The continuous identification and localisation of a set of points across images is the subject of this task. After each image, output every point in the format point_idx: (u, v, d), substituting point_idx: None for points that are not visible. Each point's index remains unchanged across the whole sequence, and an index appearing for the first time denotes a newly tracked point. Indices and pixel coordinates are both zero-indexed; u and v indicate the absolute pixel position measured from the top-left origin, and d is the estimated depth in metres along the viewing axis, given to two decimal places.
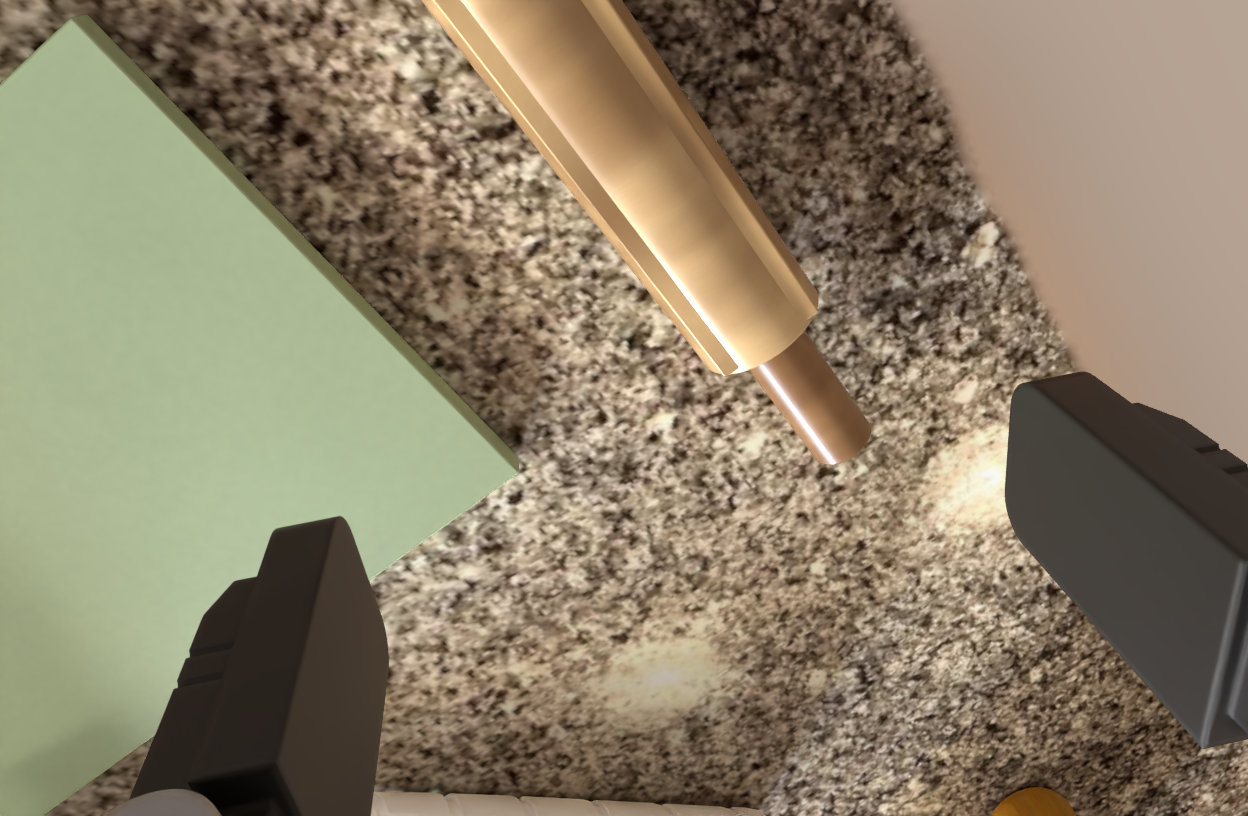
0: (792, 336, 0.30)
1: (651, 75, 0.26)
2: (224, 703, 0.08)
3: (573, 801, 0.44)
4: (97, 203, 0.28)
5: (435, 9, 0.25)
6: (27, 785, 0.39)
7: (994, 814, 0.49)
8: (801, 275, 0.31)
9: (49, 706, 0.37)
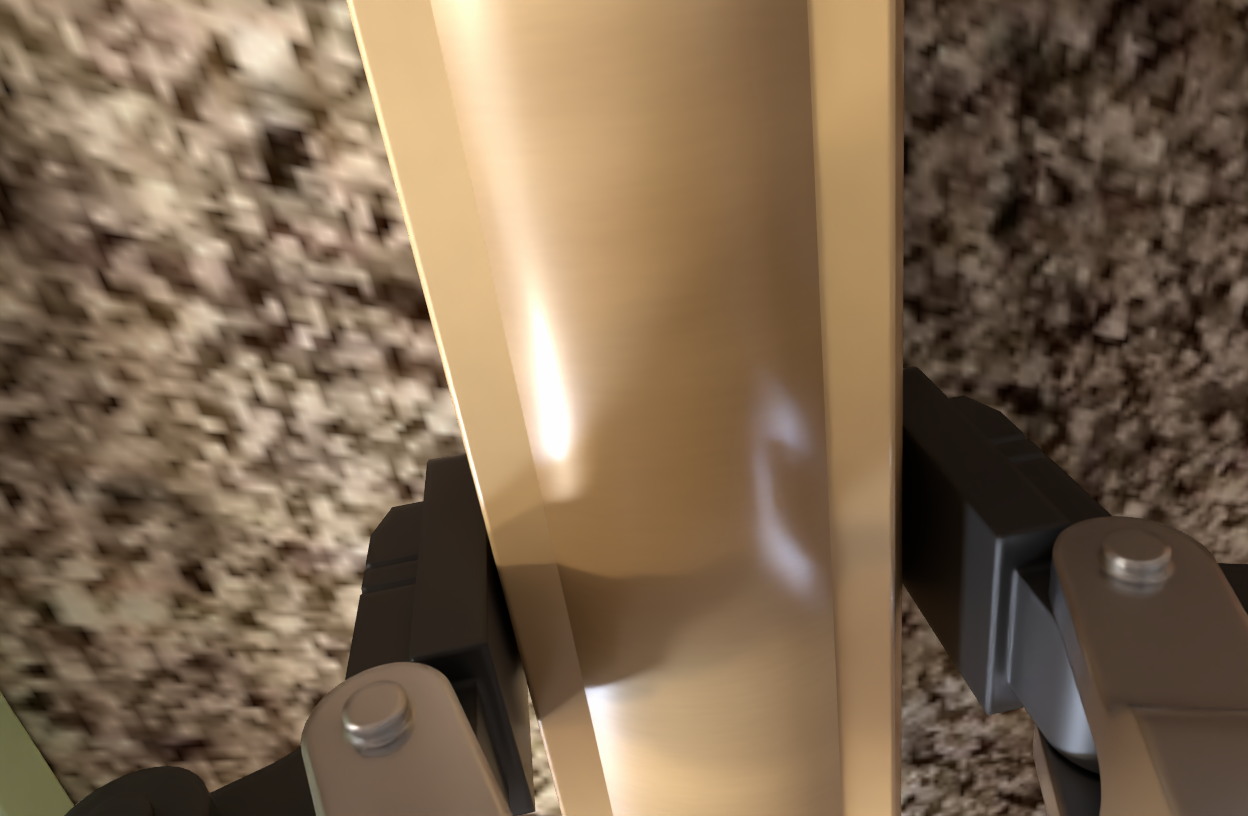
0: None
1: (876, 482, 0.08)
2: (424, 598, 0.09)
3: None
4: None
5: None
6: None
7: None
8: None
9: None
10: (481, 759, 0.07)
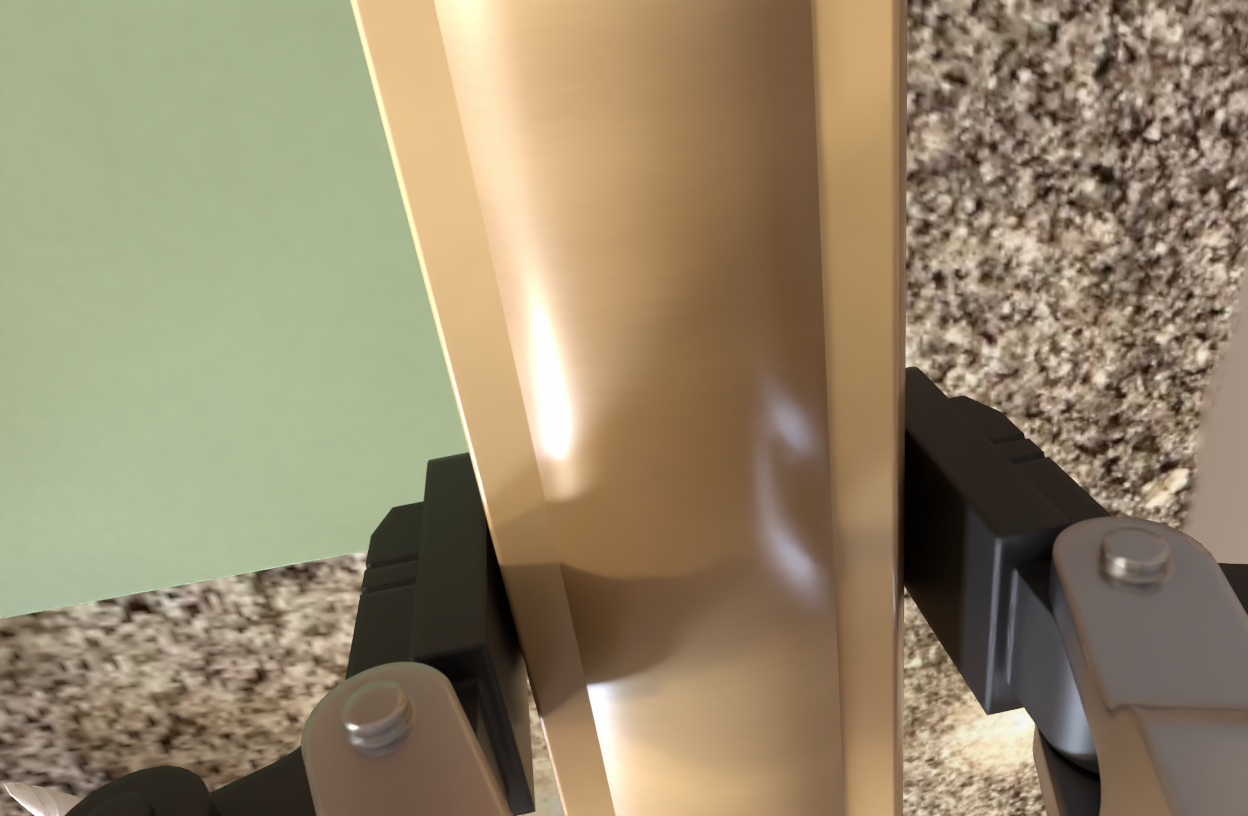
0: None
1: (878, 482, 0.08)
2: (425, 598, 0.09)
3: None
4: None
5: None
6: None
7: None
8: None
9: None
10: (482, 759, 0.07)
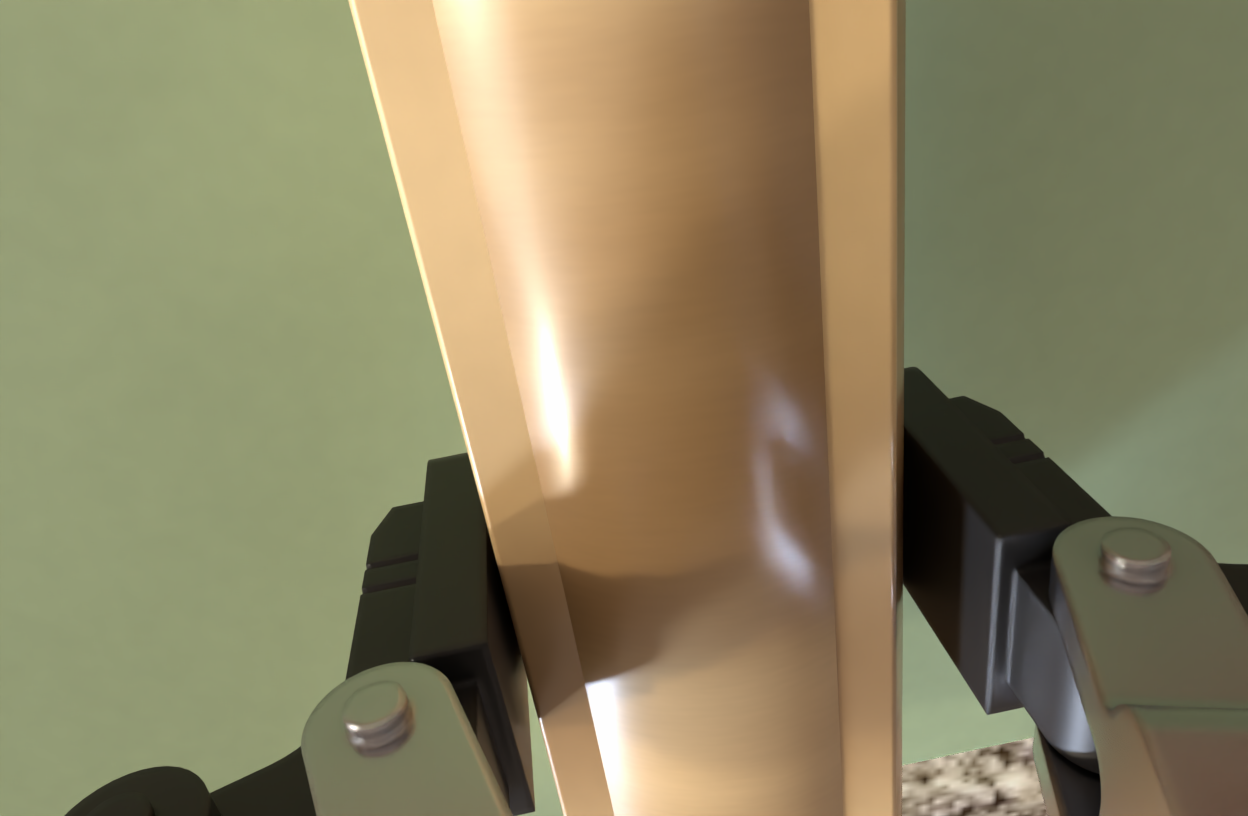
0: None
1: (878, 484, 0.08)
2: (424, 598, 0.09)
3: None
4: None
5: None
6: None
7: None
8: None
9: (219, 768, 0.17)
10: (481, 759, 0.07)
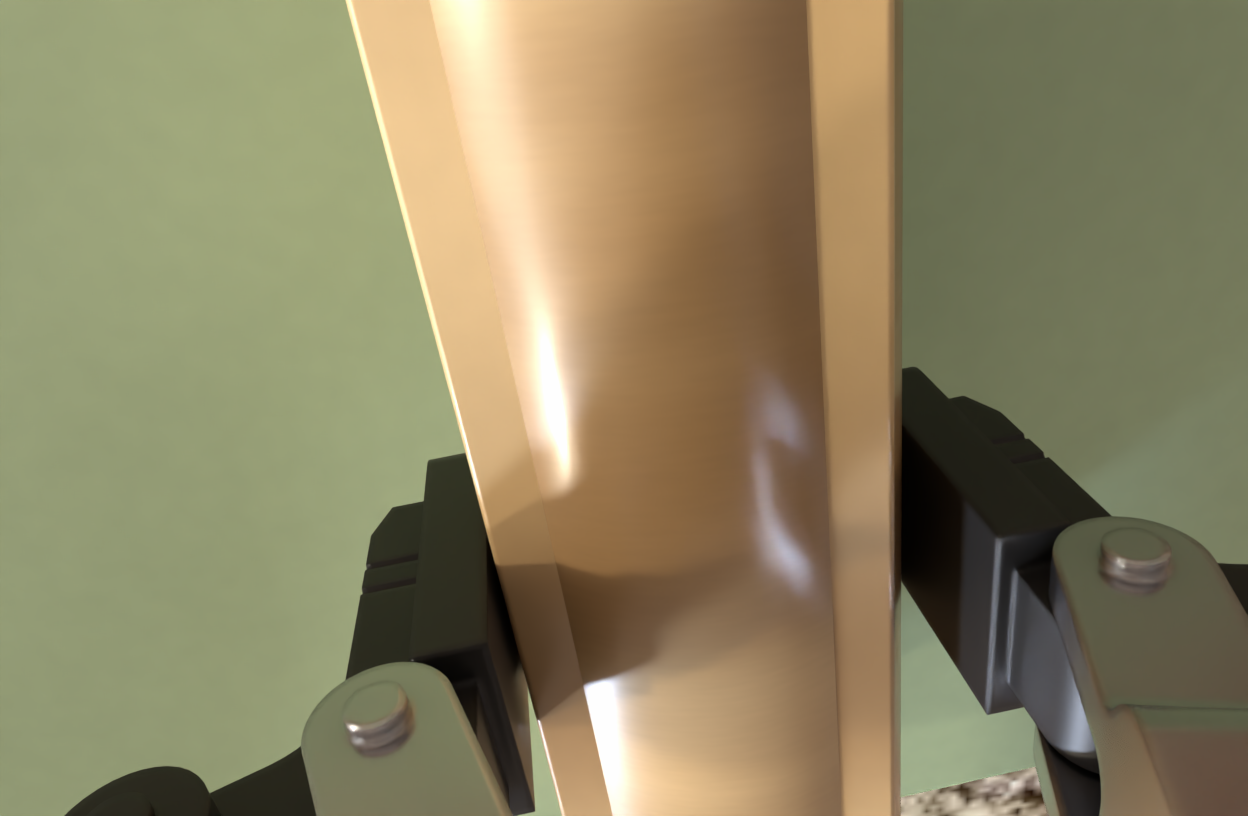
0: None
1: (875, 485, 0.08)
2: (424, 598, 0.09)
3: None
4: None
5: None
6: None
7: None
8: None
9: None
10: (482, 759, 0.07)
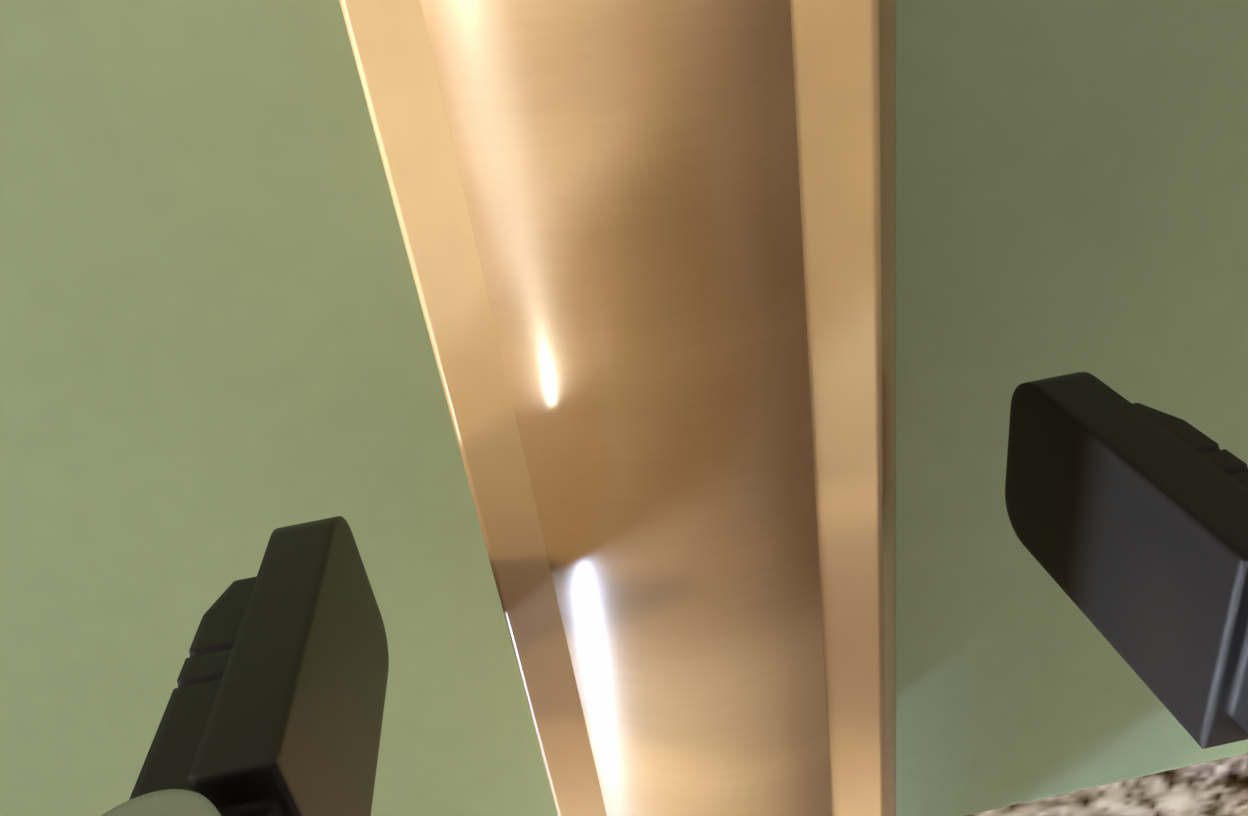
0: None
1: (862, 478, 0.08)
2: (224, 703, 0.08)
3: None
4: None
5: None
6: None
7: None
8: None
9: (384, 799, 0.16)
10: None
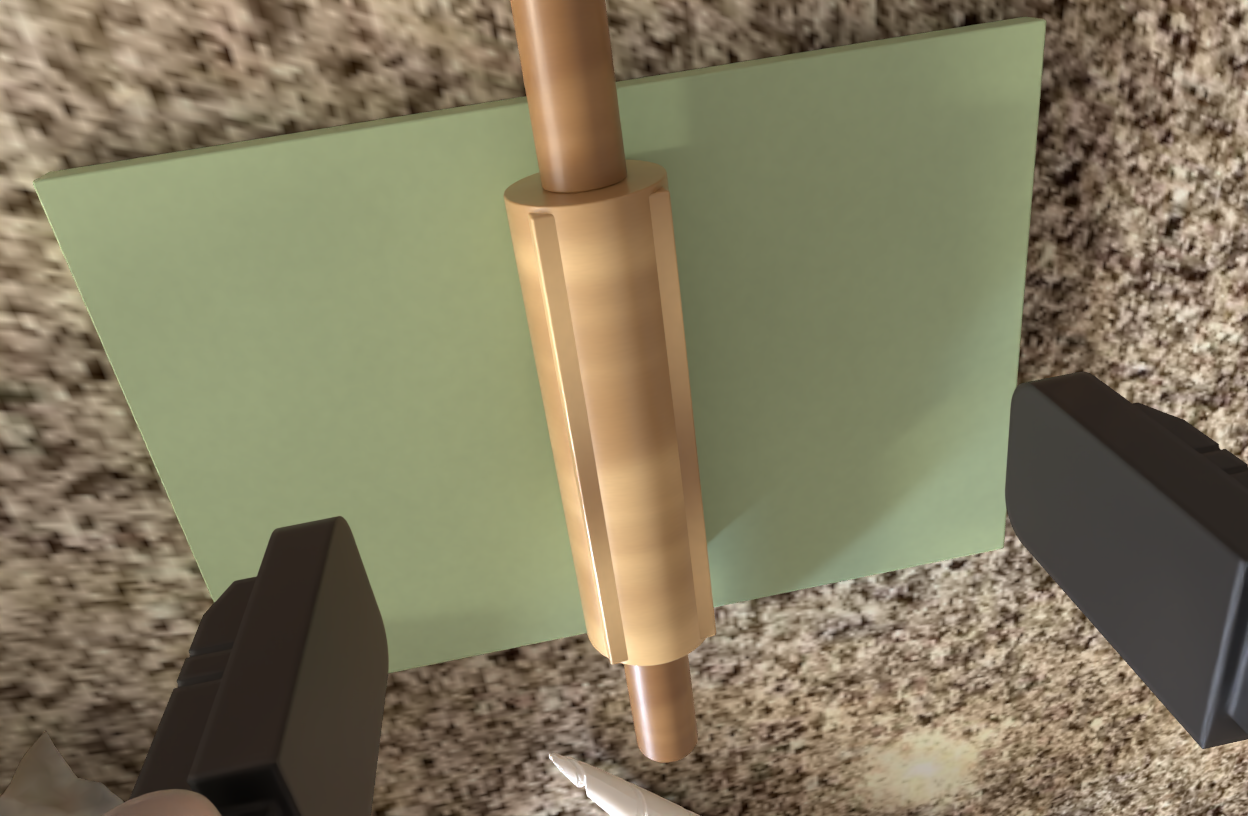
0: (687, 650, 0.31)
1: (686, 396, 0.27)
2: (224, 703, 0.08)
3: None
4: (929, 167, 0.29)
5: (528, 258, 0.25)
6: None
7: None
8: None
9: (466, 575, 0.34)
10: None
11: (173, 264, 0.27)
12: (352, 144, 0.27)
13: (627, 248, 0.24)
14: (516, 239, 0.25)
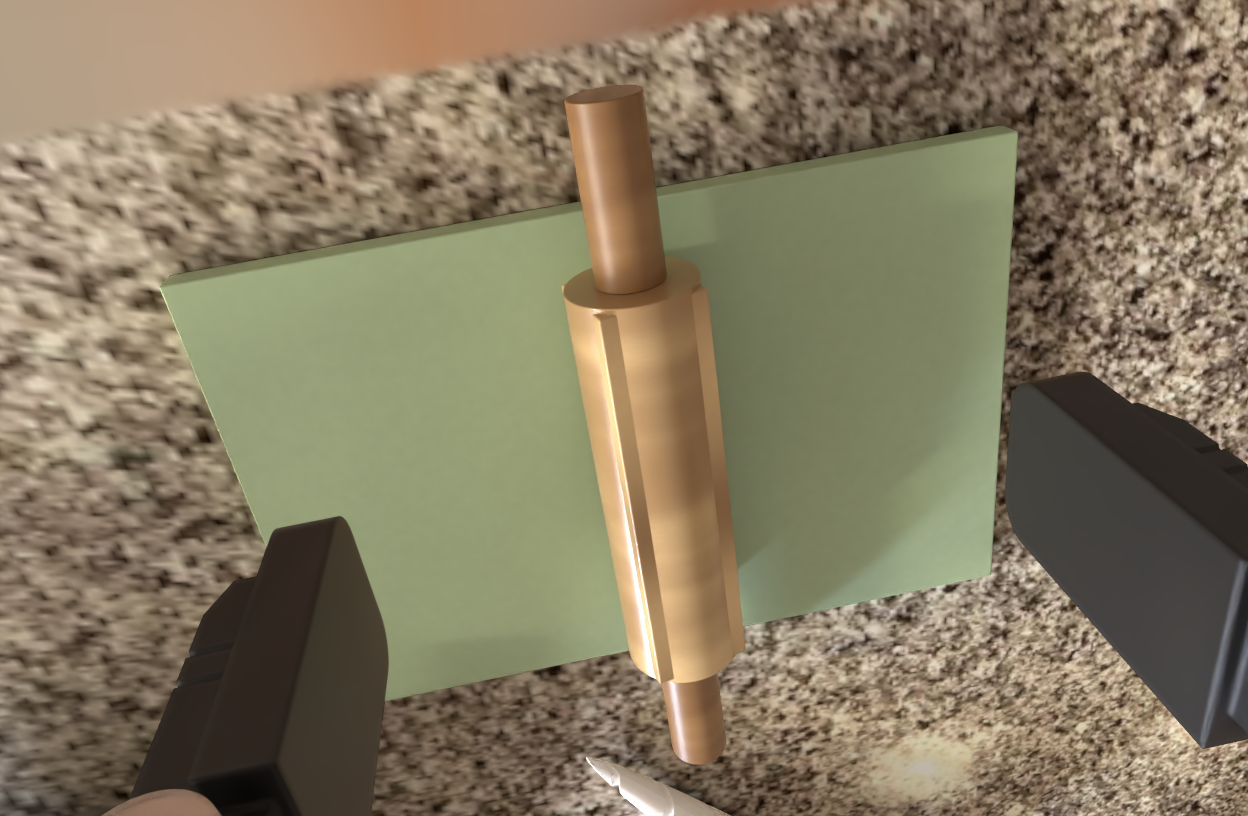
0: (723, 665, 0.36)
1: (720, 452, 0.32)
2: (224, 703, 0.08)
3: None
4: (918, 255, 0.34)
5: (590, 349, 0.30)
6: (432, 663, 0.40)
7: None
8: None
9: (516, 604, 0.39)
10: None
11: (273, 350, 0.32)
12: (424, 250, 0.31)
13: (676, 338, 0.29)
14: (578, 333, 0.30)
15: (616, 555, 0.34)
